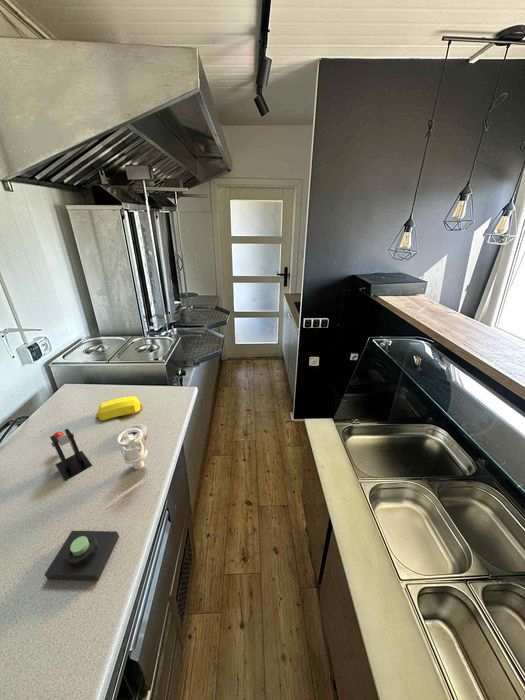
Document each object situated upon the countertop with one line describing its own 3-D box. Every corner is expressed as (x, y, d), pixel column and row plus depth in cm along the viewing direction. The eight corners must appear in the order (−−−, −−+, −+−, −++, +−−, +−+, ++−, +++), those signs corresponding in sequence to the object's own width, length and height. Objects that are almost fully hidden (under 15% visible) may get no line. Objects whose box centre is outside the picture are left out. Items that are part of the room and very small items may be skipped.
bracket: (56, 466, 96) (41, 435, 90) (82, 452, 101) (70, 422, 95) (66, 483, 89) (51, 450, 83) (93, 467, 95) (80, 436, 89)
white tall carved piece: (131, 480, 90) (119, 444, 83) (125, 466, 95) (114, 431, 88) (153, 469, 94) (144, 434, 87) (147, 456, 99) (137, 422, 92)
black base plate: (47, 579, 66) (41, 570, 64) (74, 535, 75) (69, 526, 73) (98, 581, 65) (93, 571, 64) (119, 536, 74) (115, 526, 73)
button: (69, 556, 67) (66, 551, 66) (78, 540, 70) (76, 535, 69) (83, 556, 67) (81, 552, 66) (92, 540, 70) (90, 536, 69)
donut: (132, 426, 113) (113, 444, 104) (130, 419, 111) (111, 436, 103) (153, 431, 110) (136, 449, 101) (152, 424, 109) (134, 442, 100)
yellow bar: (97, 414, 120) (96, 425, 114) (93, 401, 117) (91, 411, 111) (143, 403, 127) (144, 413, 120) (139, 390, 124) (140, 399, 117)
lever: (54, 444, 98) (49, 434, 98) (65, 438, 101) (61, 429, 100) (59, 448, 88) (54, 438, 87) (72, 442, 90) (67, 432, 90)
